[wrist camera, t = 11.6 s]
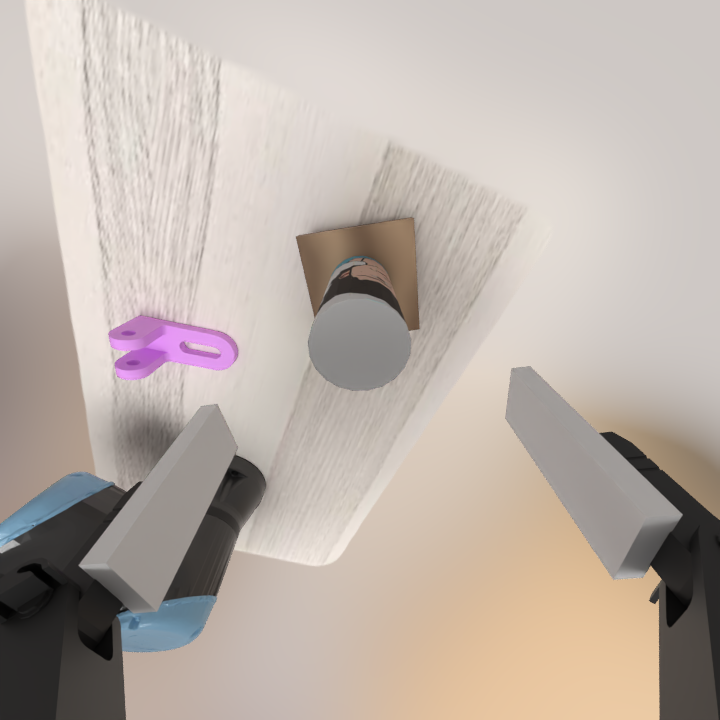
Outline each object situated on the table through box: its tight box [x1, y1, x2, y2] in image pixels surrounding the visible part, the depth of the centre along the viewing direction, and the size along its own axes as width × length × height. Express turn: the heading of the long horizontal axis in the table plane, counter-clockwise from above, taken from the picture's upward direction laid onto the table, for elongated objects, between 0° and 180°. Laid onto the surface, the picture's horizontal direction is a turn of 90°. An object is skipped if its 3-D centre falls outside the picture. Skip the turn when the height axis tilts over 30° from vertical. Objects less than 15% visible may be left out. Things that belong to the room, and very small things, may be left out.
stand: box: [296, 217, 419, 331], centre depth 34 cm, size 12×12×5 cm
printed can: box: [308, 256, 411, 391], centre depth 25 cm, size 7×7×15 cm
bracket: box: [108, 315, 238, 380], centre depth 38 cm, size 13×6×7 cm, turn 77°
